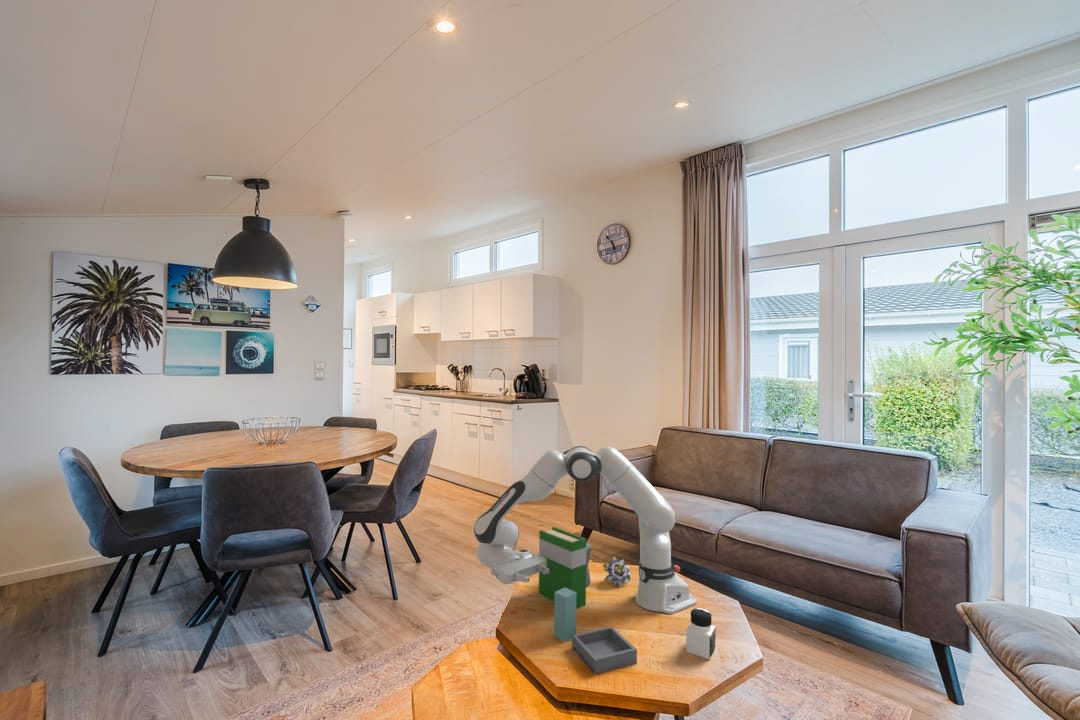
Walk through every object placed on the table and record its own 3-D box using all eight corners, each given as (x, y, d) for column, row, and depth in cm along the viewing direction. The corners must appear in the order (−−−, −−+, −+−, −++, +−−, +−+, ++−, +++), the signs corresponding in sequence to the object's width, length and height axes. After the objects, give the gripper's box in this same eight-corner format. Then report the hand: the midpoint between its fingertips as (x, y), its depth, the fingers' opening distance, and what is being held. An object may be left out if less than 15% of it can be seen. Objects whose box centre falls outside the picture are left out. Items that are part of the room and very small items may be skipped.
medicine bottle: (710, 660, 145) (710, 619, 146) (685, 652, 149) (686, 612, 149) (715, 648, 151) (715, 609, 152) (692, 641, 155) (692, 603, 155)
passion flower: (619, 600, 194) (608, 580, 189) (604, 584, 204) (593, 565, 199) (640, 581, 197) (629, 561, 193) (624, 566, 207) (614, 547, 202)
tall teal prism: (564, 630, 161) (564, 587, 161) (576, 636, 158) (576, 592, 158) (554, 636, 158) (554, 592, 158) (565, 642, 154) (566, 597, 154)
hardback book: (538, 594, 187) (539, 530, 187) (553, 588, 192) (553, 526, 192) (571, 611, 174) (571, 543, 174) (585, 605, 178) (586, 538, 179)
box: (611, 638, 156) (611, 626, 156) (636, 663, 143) (636, 649, 144) (572, 648, 151) (572, 635, 151) (595, 674, 138) (595, 660, 138)
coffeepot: (596, 588, 192) (597, 542, 192) (574, 591, 189) (574, 544, 190) (582, 573, 207) (583, 530, 207) (561, 575, 204) (562, 531, 204)
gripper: (488, 562, 169) (515, 575, 159) (530, 548, 183) (558, 559, 174) (487, 580, 169) (514, 594, 159) (530, 565, 183) (557, 576, 173)
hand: (537, 575), depth 166 cm, fingers open, 8 cm apart
